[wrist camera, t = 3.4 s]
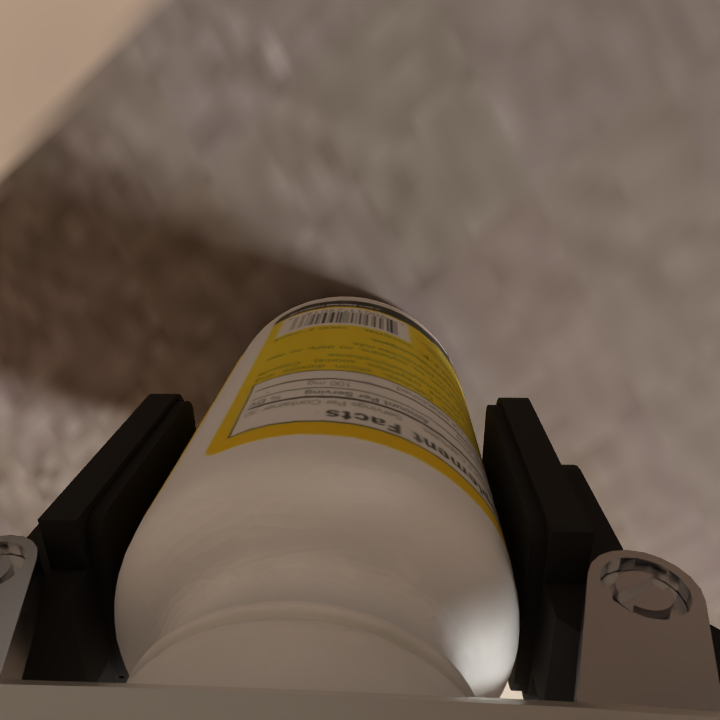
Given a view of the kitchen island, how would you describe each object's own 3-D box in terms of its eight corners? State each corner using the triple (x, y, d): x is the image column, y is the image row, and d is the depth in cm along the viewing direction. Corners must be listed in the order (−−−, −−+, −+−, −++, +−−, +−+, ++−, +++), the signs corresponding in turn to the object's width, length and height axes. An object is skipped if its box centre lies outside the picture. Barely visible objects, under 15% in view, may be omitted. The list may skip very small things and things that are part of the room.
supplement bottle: (337, 526, 16) (261, 1089, 7) (193, 382, 14) (-161, 844, 5) (507, 415, 14) (714, 945, 5) (364, 240, 13) (290, 541, 4)
